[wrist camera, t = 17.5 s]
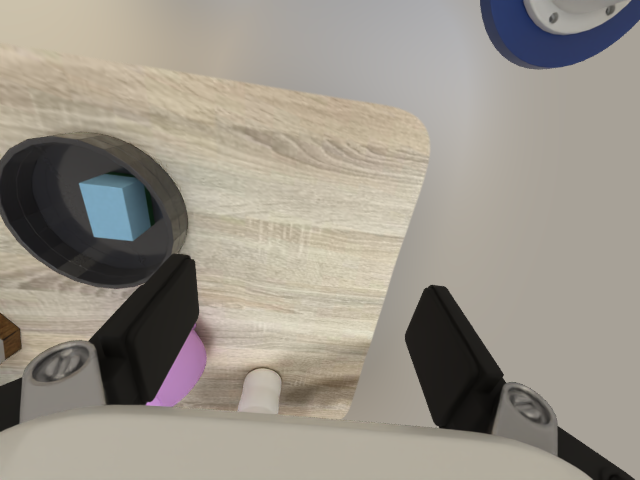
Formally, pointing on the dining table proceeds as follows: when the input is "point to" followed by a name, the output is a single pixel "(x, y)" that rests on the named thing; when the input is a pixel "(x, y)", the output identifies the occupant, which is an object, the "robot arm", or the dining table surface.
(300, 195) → the dining table surface
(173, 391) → the teapot
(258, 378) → the water bottle
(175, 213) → the pan
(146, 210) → the sponge
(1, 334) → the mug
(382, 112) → the dining table surface
